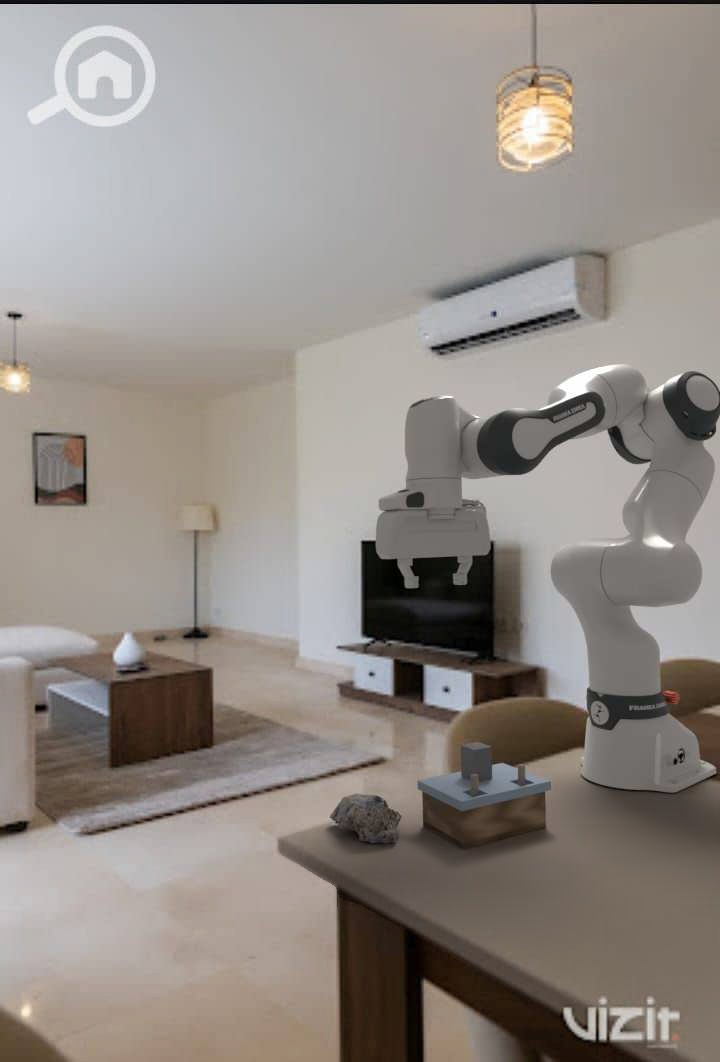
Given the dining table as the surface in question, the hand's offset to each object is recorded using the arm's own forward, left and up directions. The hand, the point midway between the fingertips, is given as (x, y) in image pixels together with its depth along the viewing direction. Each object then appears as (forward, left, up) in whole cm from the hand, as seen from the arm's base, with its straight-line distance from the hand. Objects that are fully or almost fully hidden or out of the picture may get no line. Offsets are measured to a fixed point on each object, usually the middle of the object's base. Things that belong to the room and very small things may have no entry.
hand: (436, 586), depth 117 cm
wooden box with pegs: (+4, +16, -32) cm, 36 cm away
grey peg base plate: (+4, +16, -27) cm, 31 cm away
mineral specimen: (+18, +9, -32) cm, 38 cm away
